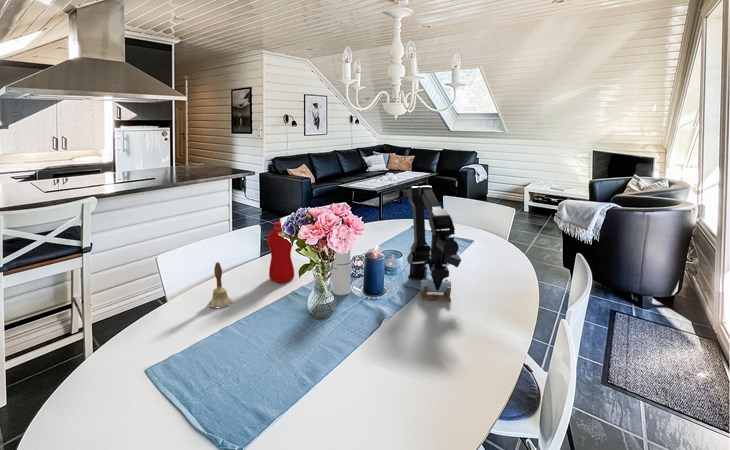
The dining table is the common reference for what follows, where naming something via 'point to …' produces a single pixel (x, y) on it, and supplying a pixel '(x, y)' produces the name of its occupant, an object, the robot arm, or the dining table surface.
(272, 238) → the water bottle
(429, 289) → the cylinder
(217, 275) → the hand bell
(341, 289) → the cylindrical container
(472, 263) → the dining table surface
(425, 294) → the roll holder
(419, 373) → the dining table surface
